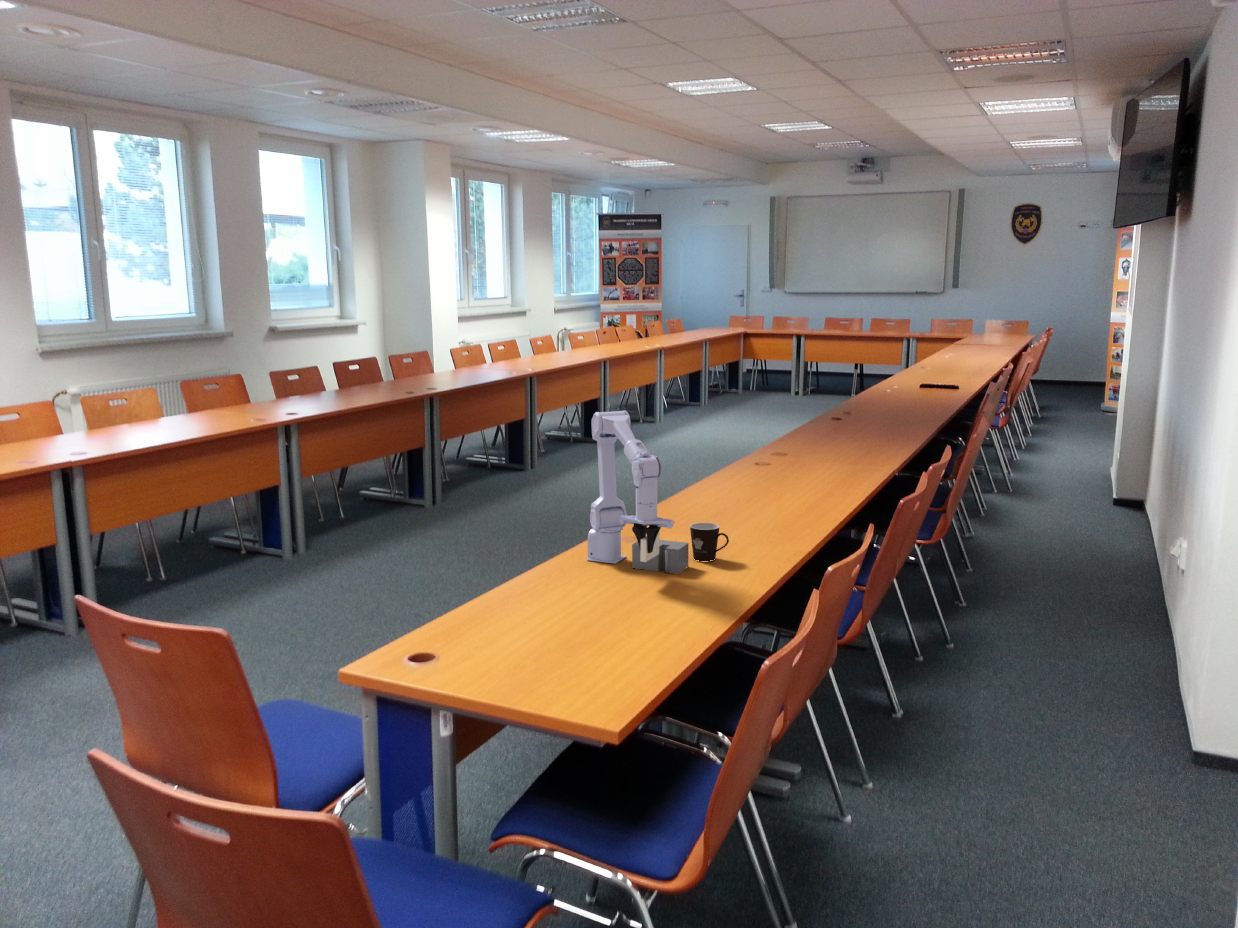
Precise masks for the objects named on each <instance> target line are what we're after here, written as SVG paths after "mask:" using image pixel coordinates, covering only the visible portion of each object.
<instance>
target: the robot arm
mask: <svg viewBox="0 0 1238 928" xmlns="http://www.w3.org/2000/svg"><path fill="white" fill-rule="evenodd" d="M590 424H591V435H592V440H594V441H596V445H597V466H598V483H599V484H598V485H599V497H598V498H596V500H595V501H593V502H592V503H591V504H590V515H589V522H590V526H591V529H590V530H589V532H588V534H587V558H586V561H590V562H598V563H605V564H606V563H607V564H618V563H619V562H620V561H622V560H624V559H625V558H627V555H626V554H622V531H623V530H624V528H625V526H627V525H628V524H629V525H633V526H632V528H631V530H632V532H633V533H634V536H635V538H636V542H637V541H638V544H639V548H640V550H641V539H642V538H644V537H646V536H647V551H648V553H651V552H653V547H654V543H655V540H656V537H657V535H658V533H660V531H661V529H662V528H667V529H673V528H674V519H669V518H664V517H663V518H662V517H660V516H658V479H659V478H660V477H661V476H662V463H661V460H660V458H659V456H657V455H654V454H651V453H650V452H649V450H648V448H646V445H645V444H644V443H643V441H641V439H637V438H636V437H635V435H634V433H633V431H632V429H631V417H630V414H629V413H628V411H627V410H619V411H602V412H601V411H600V412H599V411H595V413H593V416H592V418H591V423H590ZM617 440H619V441H620V443H621V444H622V445H623V446H624V447H623V454H624V455H625V457H626V458H627V460H628V462H629V463H630V465H631V474H632V477H633V485H634V486H635V515H628V514H627V509H626V505H625V501H623V500H621V498H620V497H618V495H617V494H618V492H617V475H616V452H615V451H616V450H615V447H616V446H615V443H616V442H617Z"/></svg>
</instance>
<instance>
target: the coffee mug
mask: <svg viewBox="0 0 1238 928" xmlns="http://www.w3.org/2000/svg"><path fill="white" fill-rule="evenodd" d="M689 530H690V538H691V547H692V549H691V550H692V557H693V558H694V559H695V560H699V561H710V560H714V559H715V560H716V556H717V552H719V551H720V550H722V549H724V548H726V547H727V545H728V544H729V542H730V540H729V536H728V535H727V534H726V533H724V532H720V525H719V524H717V523H713V522H695V523H691V524H690V525H689ZM719 532H720V533H719ZM720 536H724V537H725V538H726V542H725V544H724V545H723V546H721V547H719V548H718V541H719V537H720ZM693 558H692V559H693ZM694 559H693V560H694ZM695 560H694V561H695Z"/></svg>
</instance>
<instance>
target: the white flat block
mask: <svg viewBox="0 0 1238 928" xmlns="http://www.w3.org/2000/svg"><path fill="white" fill-rule="evenodd" d="M660 535H661V533H660V532H659V533H658V535H657V537H656V540H655V543H654V547H653V552H651V553H648V551H647V535H646V537H644V538H642V539H641V550H640V561H641V562H646V561H648V560H650V559H652V558H653V557H655V556H657V555H658V554H659V540H660V537H661V536H660Z"/></svg>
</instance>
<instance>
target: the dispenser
mask: <svg viewBox="0 0 1238 928" xmlns="http://www.w3.org/2000/svg"><path fill="white" fill-rule="evenodd" d="M689 544H690V543H689V542H685V541H677V540H676V541H675V540H674V541H673V540H667V539H666V540H665V539H659V554H658V555H657V556H655V557H653V558H652V559H650V560H648V561H646V562H641V561H640V548H639V544H638V541H637V540H636V542H635V543H634V542H633V544H632V546H631V547H632V549H631V555H632V558H631V562H632V564H631V568H635V570H640V569H644V570H643V571H650V572H657V571H658V572H659V570H660V569H661V570H662V569H664V568H665V569H664V573H665V572H666V573H665V574H669V573H668V572H671V573H670V574H674V573H677V575H679V574H681V573H682V572H683V571H685V570H686V569H687V568H688V567H689ZM687 566H688V567H687ZM686 567H687V568H686ZM685 568H686V569H685ZM684 569H685V570H684ZM661 570H660V571H661ZM681 571H682V572H681ZM680 572H681V573H680Z"/></svg>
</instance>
